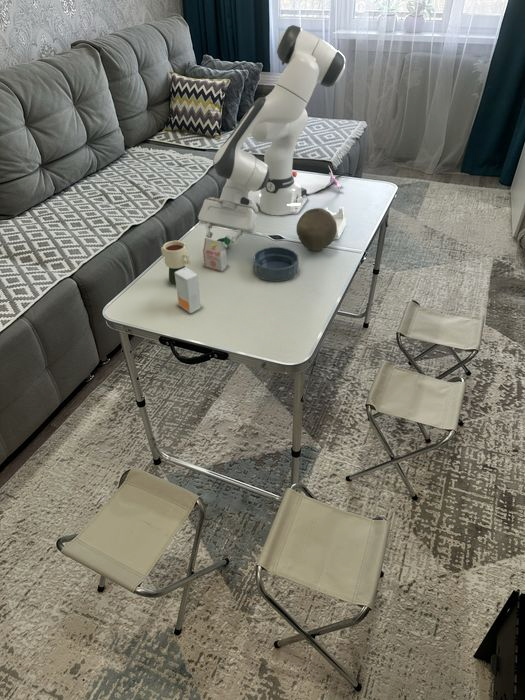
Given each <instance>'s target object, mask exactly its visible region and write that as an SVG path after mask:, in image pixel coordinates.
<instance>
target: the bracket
mask: <svg viewBox="0 0 525 700" xmlns="http://www.w3.org/2000/svg"><path fill="white" fill-rule="evenodd" d="M323 209H324V210H326V211H328V212H330V213H331V214H332V216H333V217H334V219H335V221H336V225H337V232H336V235H335V238H334V239H333V240H339V239H340V238H341V236H342V234H343V232H344V230H345V228H346V226H347V218H346V213H345V206H344V205H340V206H339V211H337V212H332V211H331V210H330V209H329V206H328V207H324V208H323Z"/></svg>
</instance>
